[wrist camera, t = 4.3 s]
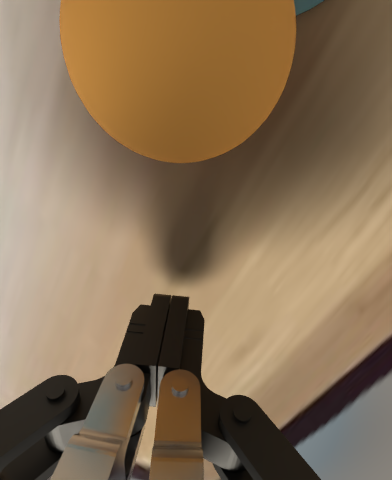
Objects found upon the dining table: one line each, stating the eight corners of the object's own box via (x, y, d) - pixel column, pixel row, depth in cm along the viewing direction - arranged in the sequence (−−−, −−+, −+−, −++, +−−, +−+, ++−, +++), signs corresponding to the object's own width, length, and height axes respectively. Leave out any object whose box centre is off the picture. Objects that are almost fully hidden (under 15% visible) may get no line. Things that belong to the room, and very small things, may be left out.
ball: (-54, -119, 4) (60, 194, 8) (370, -84, 4) (271, 217, 8) (81, -133, 8) (114, 94, 12) (312, -114, 7) (263, 108, 12)
